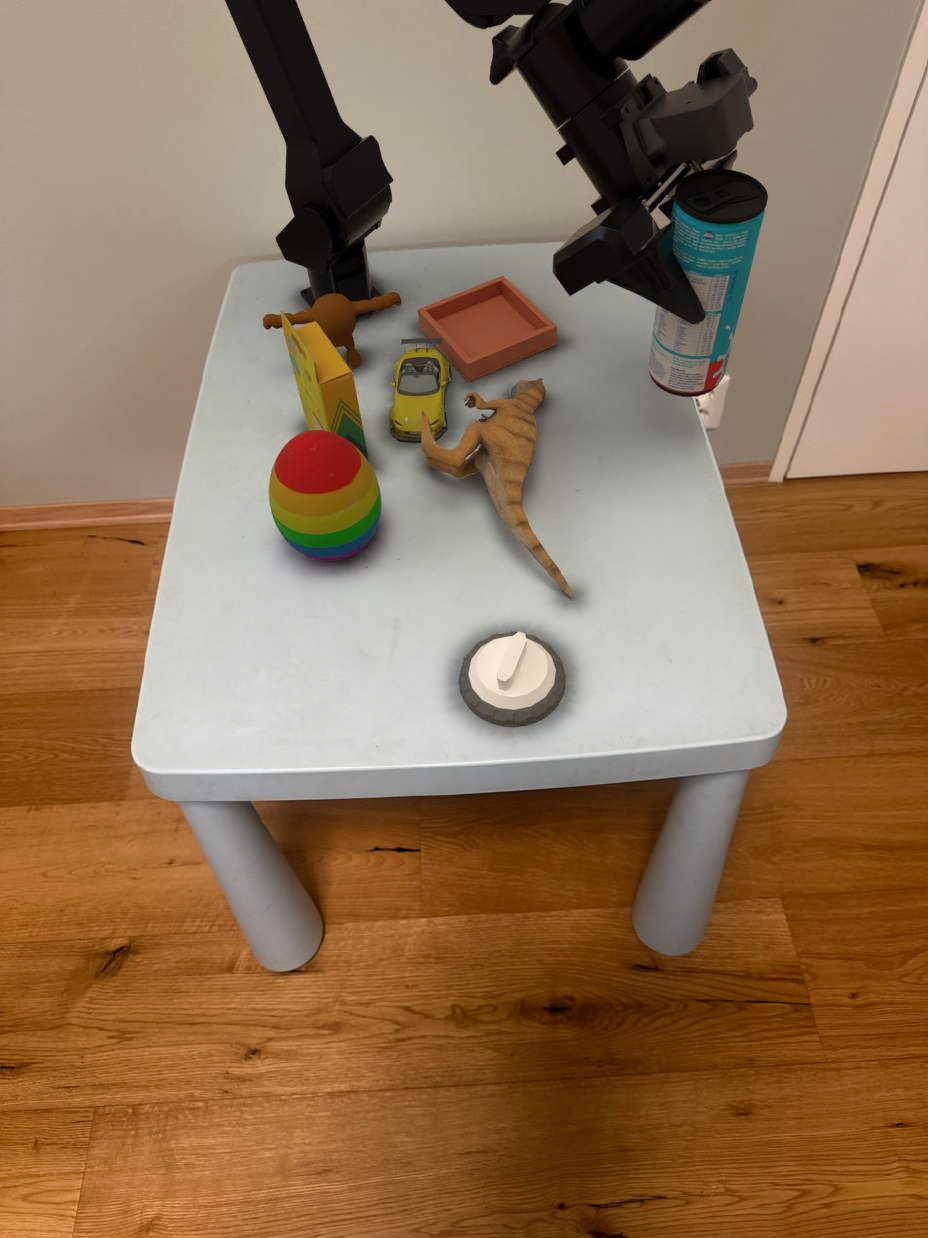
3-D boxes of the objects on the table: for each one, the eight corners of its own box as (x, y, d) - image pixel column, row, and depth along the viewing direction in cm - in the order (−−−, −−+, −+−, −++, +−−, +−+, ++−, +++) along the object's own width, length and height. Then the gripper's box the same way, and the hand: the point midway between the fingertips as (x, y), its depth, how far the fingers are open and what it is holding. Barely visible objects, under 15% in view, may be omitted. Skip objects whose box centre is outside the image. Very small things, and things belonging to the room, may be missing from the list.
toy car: (386, 442, 78) (382, 415, 75) (396, 364, 84) (392, 336, 81) (447, 442, 78) (444, 414, 75) (452, 363, 83) (450, 335, 81)
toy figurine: (404, 338, 86) (395, 273, 80) (411, 363, 84) (403, 298, 78) (275, 361, 85) (257, 297, 79) (279, 388, 83) (261, 324, 77)
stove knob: (442, 707, 63) (440, 684, 60) (481, 624, 67) (479, 599, 64) (546, 739, 61) (547, 717, 59) (579, 652, 65) (581, 628, 63)
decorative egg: (286, 584, 70) (254, 492, 62) (278, 505, 74) (248, 410, 66) (393, 564, 70) (376, 471, 62) (379, 487, 75) (361, 391, 67)
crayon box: (372, 467, 76) (350, 352, 67) (338, 480, 76) (312, 366, 66) (337, 413, 80) (312, 297, 71) (305, 426, 80) (276, 310, 70)
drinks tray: (419, 327, 87) (417, 308, 85) (503, 293, 89) (503, 274, 87) (468, 382, 82) (467, 364, 80) (556, 344, 84) (557, 326, 82)
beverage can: (737, 388, 72) (786, 206, 59) (668, 409, 70) (703, 227, 58) (699, 342, 75) (738, 160, 62) (633, 361, 74) (659, 180, 61)
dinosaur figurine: (437, 391, 81) (573, 394, 80) (411, 596, 69) (573, 602, 68) (433, 327, 76) (579, 330, 75) (404, 537, 63) (579, 543, 62)
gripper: (610, 92, 50) (759, 330, 55) (751, -38, 58) (869, 178, 64) (488, 191, 59) (626, 387, 64) (626, 66, 67) (738, 248, 73)
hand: (718, 297), depth 66 cm, fingers closed on beverage can, 6 cm apart
